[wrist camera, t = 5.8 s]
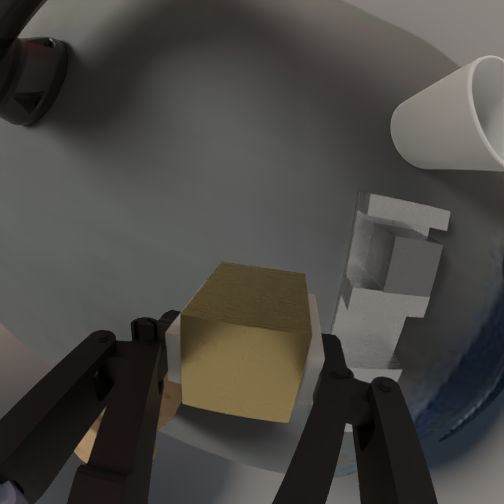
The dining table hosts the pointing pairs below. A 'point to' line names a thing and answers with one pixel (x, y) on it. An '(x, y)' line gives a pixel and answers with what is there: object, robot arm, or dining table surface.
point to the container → (167, 412)
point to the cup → (455, 120)
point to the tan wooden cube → (246, 342)
